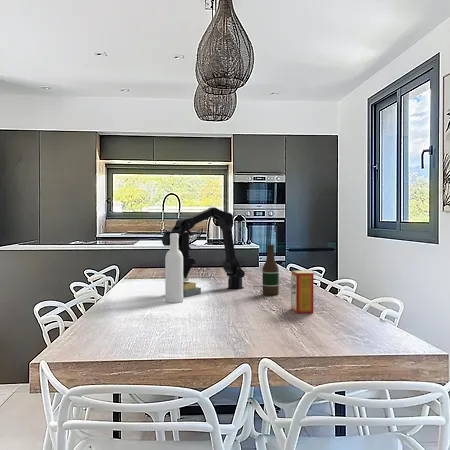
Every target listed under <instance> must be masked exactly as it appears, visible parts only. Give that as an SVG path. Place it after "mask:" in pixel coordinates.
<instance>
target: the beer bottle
mask: <svg viewBox="0 0 450 450" xmlns="http://www.w3.org/2000/svg"><path fill="white" fill-rule="evenodd" d="M279 275H280V271H279V266H278V263H277V262H276V259H275V244H266V260H265V262H264V264H263V266H262V287H261V288H262V295H264V296H274V297H275V296H278V295H279V290H280V289H279V288H280V285H279V284H280V281H279V277H280V276H279Z"/></svg>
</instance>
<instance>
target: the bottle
mask: <svg viewBox="0 0 450 450" xmlns="http://www.w3.org/2000/svg"><path fill="white" fill-rule="evenodd" d="M178 238H179V236H178V234H177V233H171V234H170V246H169V250H168V251H166V253H165V254H166V255H165V257H164V258H165V260H164V261H165V263H164V265H165V268H164V269H165V273H164V274H165V279H164V280H165V282H164V283H165V289H164V290H165V294H164V299H165V302H166V303H169V304H177V303H182V302H184V297H183V282H184V281H183V255H182V253H181V252H180V250H179V249H178Z"/></svg>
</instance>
